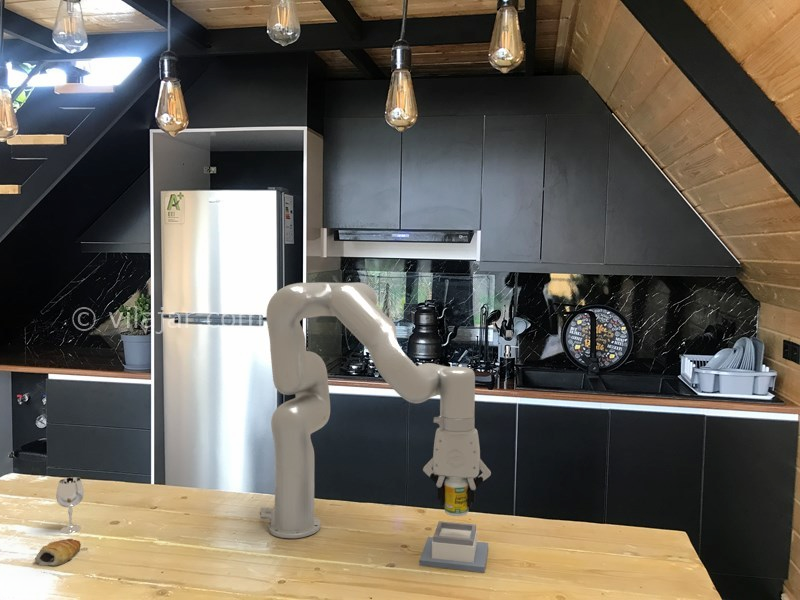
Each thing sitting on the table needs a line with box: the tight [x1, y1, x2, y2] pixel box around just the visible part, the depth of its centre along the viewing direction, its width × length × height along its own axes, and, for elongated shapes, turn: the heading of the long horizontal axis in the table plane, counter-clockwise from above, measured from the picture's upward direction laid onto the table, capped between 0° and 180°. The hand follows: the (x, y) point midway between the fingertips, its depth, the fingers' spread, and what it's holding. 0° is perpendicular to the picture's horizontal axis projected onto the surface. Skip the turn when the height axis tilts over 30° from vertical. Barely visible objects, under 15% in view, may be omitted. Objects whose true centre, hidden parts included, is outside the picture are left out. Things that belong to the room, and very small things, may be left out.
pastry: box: [34, 538, 82, 567], centre depth 137 cm, size 9×7×4 cm
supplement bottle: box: [444, 477, 470, 517], centre depth 139 cm, size 5×5×10 cm
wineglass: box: [56, 476, 84, 534], centre depth 151 cm, size 6×6×12 cm
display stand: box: [418, 520, 489, 574], centre depth 140 cm, size 14×12×6 cm
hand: (456, 503), depth 139 cm, fingers closed on supplement bottle, 5 cm apart
